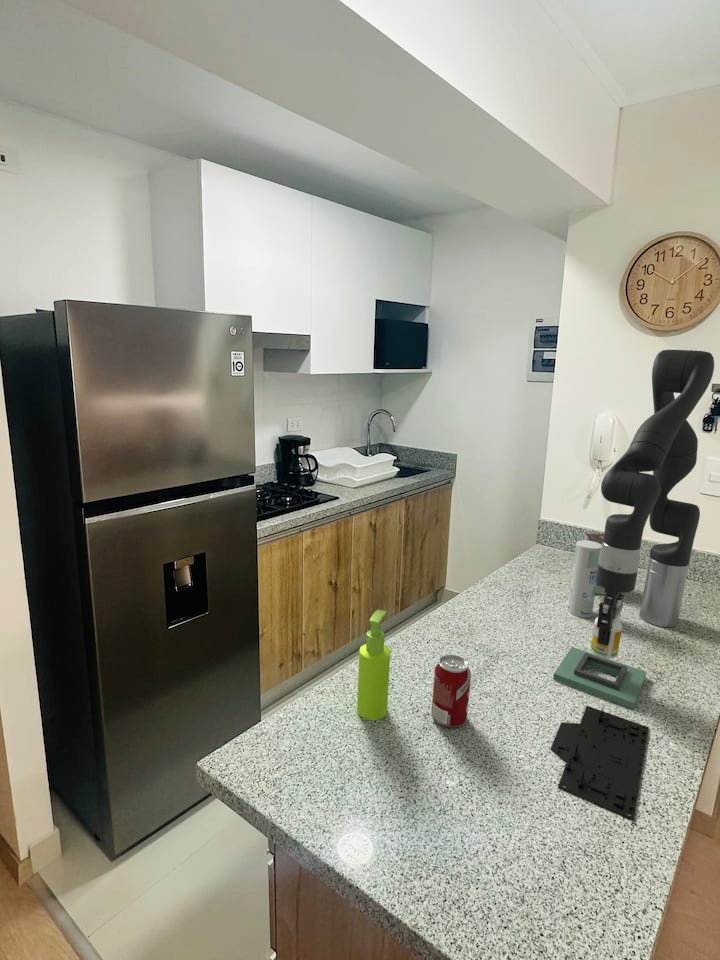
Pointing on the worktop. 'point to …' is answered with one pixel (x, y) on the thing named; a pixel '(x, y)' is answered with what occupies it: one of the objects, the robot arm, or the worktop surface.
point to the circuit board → (602, 760)
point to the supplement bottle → (614, 642)
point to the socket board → (618, 691)
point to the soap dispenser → (373, 672)
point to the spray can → (584, 578)
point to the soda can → (451, 691)
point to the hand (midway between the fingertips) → (606, 637)
